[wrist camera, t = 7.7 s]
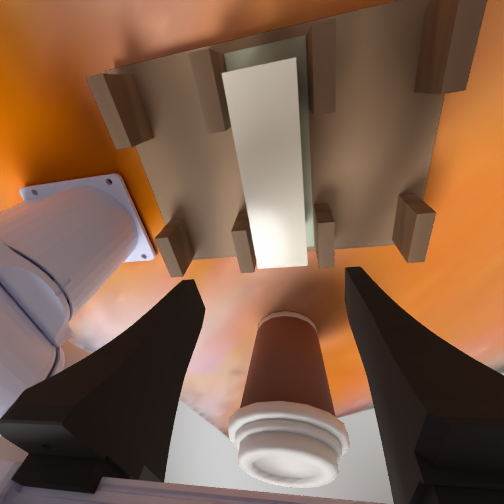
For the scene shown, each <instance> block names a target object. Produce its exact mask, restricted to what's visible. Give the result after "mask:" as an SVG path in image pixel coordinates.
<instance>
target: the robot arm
mask: <svg viewBox="0 0 504 504" xmlns="http://www.w3.org/2000/svg"><path fill="white" fill-rule="evenodd" d="M108 179H110V180H111V181H112V183H110V182H109V180H108ZM36 191H37V192H36ZM19 193H20V195H21V196H22V198H23V199H24V202H22V203H20V204H17V205H15V206H13V207H11V208H9V209H6V210H4V211H2V212H0V436H3V437H4V438H6V439H7V440H9V441H10V442H12V443H14V444H15V445H17V446H18V447H20V448H21V449H23V450H24V451H26V452H27V453H29V454H28V456H27V457H26V459H25V460H24V462H23V463H22V462H19V461H15V460H7V459H0V504H384V503H373V502H363V501H352V500H341V499H331V498H321V497H310V496H300V495H289V494H279V493H268V492H258V491H247V490H237V489H225V488H215V487H204V486H194V485H184V484H173V483H164V479H165V472H166V465H167V459H168V453H169V446H170V441H171V435H172V430H173V425H174V420H175V415H176V411H177V406H178V402H179V397H180V393H181V389H182V385H183V381H184V377H185V374H186V371H187V368H188V365H189V362H190V359H191V357H192V354H193V351H194V348H195V345H196V343H197V340H198V337H199V334H200V331H201V328H202V324H203V319H204V314H205V306H204V304H203V301H202V299H201V296H200V294H199V291H198V289H197V286H196V284H195V281H194V279H192V280H182V281H181V282H180V283H179V284H178V285H176V286H175V287H174V288H173V289H172V290H171V291H170V292H169V293H168V294H167V295H166V296H165V297H164V298H162V299H161V300H160V301H159V302H158V303H157V304H156V305H155V306H154V307H153V308H152V309H151V310H149V311H148V312H147V313H146V314H145V315H144V316H142V317H141V318H140V319H139V320H138V321H137V322H135V323H134V324H133V325H132V326H130V327H129V328H128V329H127V330H125V331H124V332H123V333H121V334H120V335H119V336H117V337H116V338H115V339H113V340H112V341H110V342H109V343H107V344H106V345H104V346H103V347H101V348H100V349H98V350H97V351H95V352H94V353H92V354H91V355H89V356H87V357H86V358H84V359H82V360H81V361H79V362H77V363H75V364H74V365H72V366H70V367H68V368H67V369H65V370H63V367H64V364H65V356H64V353H63V350H62V349H61V347H60V346H61V345H62V344H63V343H64V342H65V341H66V339H67V338H68V337H69V336H70V335H71V334H72V331H71V329H70V327H69V324H68V322H69V321H70V320H71V319H72V318H73V317H74V316H75V315H76V313H77V312H78V311H79V310H80V309H81V308H82V307H83V306H84V305H85V304H86V303H87V301H88V300H89V299H90V298H91V297H92V296H93V295H94V294H95V293H96V292H97V291H98V289H99V288H100V287H101V286H102V285H103V284H104V283H105V282H106V281H107V280H108V279H109V277H110V276H111V275H112V274H113V273H114V272H115V271H116V270H117V269H118V268H119V266H120V265H121V264H122V263H123V262H134V261H147V260H153V259H154V258H155V257H156V253H155V251H154V249H153V246H152V244H151V242H150V240H149V237H148V235H147V233H146V231H145V228H144V226H143V224H142V222H141V219H140V217H139V215H138V212H137V210H136V208H135V206H134V203H133V201H132V199H131V197H130V194H129V192H128V190H127V188H126V185H125V183H124V181H123V179H122V177H121V176H120V175H119V174H116V173H113V174H106V175H100V176H93V177H87V178H80V179H73V180H67V181H60V182H54V183H47V184H40V185H34V186H27V187H23V188H21V189H20V190H19ZM144 254H145V255H146V256H145V255H144ZM345 304H346V309H347V314H348V319H349V323H350V326H351V329H352V332H353V335H354V338H355V341H356V344H357V347H358V350H359V353H360V356H361V359H362V362H363V365H364V368H365V371H366V375H367V378H368V382H369V387H370V391H371V395H372V400H373V404H374V409H375V413H376V418H377V422H378V427H379V431H380V436H381V441H382V446H383V451H384V456H385V460H386V465H387V470H388V476H389V481H390V486H391V491H392V496H393V501H394V504H504V375H502V374H500V373H498V372H496V371H495V370H493V369H491V368H489V367H487V366H486V365H484V364H482V363H480V362H479V361H477V360H475V359H473V358H472V357H470V356H468V355H467V354H465V353H463V352H462V351H460V350H459V349H457V348H456V347H454V346H452V345H451V344H449V343H448V342H446V341H445V340H443V339H441V338H440V337H438V336H437V335H436V334H434V333H433V332H431V331H430V330H429V329H427V328H426V327H425V326H423V325H422V324H421V323H419V322H418V321H417V320H415V319H414V318H413V317H412V316H411V315H409V314H408V313H407V312H406V311H405V310H403V309H402V308H401V307H400V306H399V305H398V304H397V303H396V302H394V301H393V300H392V299H391V298H390V297H389V296H388V295H387V294H386V293H385V292H384V291H383V290H382V289H381V288H380V287H379V286H378V285H377V284H376V283H375V282H374V281H373V280H372V279H371V278H370V277H369V275H368V274H367V273H366V272H365V271H364V270H363V269H362V268H361V267H347V268H345Z"/></svg>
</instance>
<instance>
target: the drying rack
mask: <svg viewBox="0 0 504 504" xmlns="http://www.w3.org/2000/svg"><path fill="white" fill-rule="evenodd" d="M486 3H487V0H397V1H393V2H389V3H385V4H381V5H376V6H372V7H368V8H364V9H360V10H356V11H351V12H347V13H343V14H339V15H335V16H331V17H326V18H322V19H318V20H314V21H310V22H306V23H301V24H297V25H293V26H289V27H285V28H281V29H276V30H272V31H268V32H264V33H260V34H256V35H251V36H247V37H243V38H239V39H235V40H231V41H226V42H222V43H218V44H214V45H210V46H206V47H201V48H197V49H193V50H189V51H185V52H181V53H176V54H172V55H168V56H164V57H160V58H156V59H151V60H147V61H143V62H139V63H135V64H131V65H126V66H122V67H118V68H114V69H110V70H106V73H107V74H99V75H94V76H90V77H86V80H87V83H88V85H89V87H90V90H91V92H92V94H93V97H94V99H95V101H96V104H97V106H98V108H99V111H100V113H101V115H102V118H103V120H104V122H105V124H106V127H107V129H108V131H109V134H110V136H111V138H112V141H113V143H114V145H115V148H116V150H118V149H124V148H130V147H133V146H135V148H136V150H137V153H138V155H139V158H140V160H141V163H142V165H143V168H144V171H145V173H146V176H147V178H148V181H149V183H150V186H151V189H152V191H153V194H154V196H155V199H156V201H157V204H158V207H159V209H160V212H161V214H162V217H163V219H164V222H165V225H166V226H165V227H164V228H163V229H162V231H161V232H160V233H159V234H158V235H157V236H156V238H155V241H156V243H157V246H158V248H159V250H160V253H161V255H162V257H163V260H164V262H165V264H166V267H167V269H168V271H169V274H170V276H171V277H183V276H184V274H185V272H186V270H187V268H188V267H189V265H190V263H191V261H192V260H197V259H210V258H224V257H237V258H238V263H239V267H240V271H241V273H251V272H254V271H255V266H256V255H255V250H254V245H253V239H252V234H251V229H250V223H249V218H248V213H247V207H246V202H245V196H244V191H243V186H242V180H241V175H240V170H239V164H238V159H237V154H236V148H235V143H234V138H233V132H232V127H231V121H230V116H229V111H228V105H227V100H226V95H225V89H224V84H223V79H222V73H224V72H229V71H234V70H238V69H243V68H248V67H253V66H257V65H262V64H267V63H272V62H276V61H281V60H286V59H291V58H295V57H296V66H297V84H298V102H299V120H300V138H301V155H302V173H303V191H304V209H305V227H306V245H307V251H316V252H317V258H318V264H319V268H333V267H334V249H346V248H360V247H373V246H387V245H396V247H397V248H398V250H399V251H400V253H401V254H402V256H403V257H404V259H405V260H406V262H407V263H415V262H424V261H425V257H426V253H427V249H428V244H429V240H430V236H431V232H432V228H433V224H434V219H435V215H436V212H435V211H434V210H433V209H432V208H431V207H429V206H428V205H427V204H426V203H425V202H424V201H423V197H424V193H425V188H426V183H427V178H428V173H429V168H430V163H431V158H432V153H433V148H434V144H435V139H436V134H437V129H438V124H439V119H440V114H441V109H442V104H443V99H444V94H445V93H451V92H457V91H463V90H466V86H467V82H468V78H469V73H470V69H471V65H472V61H473V57H474V53H475V48H476V44H477V40H478V36H479V32H480V28H481V23H482V19H483V15H484V11H485V7H486Z"/></svg>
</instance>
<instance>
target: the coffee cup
mask: <svg viewBox="0 0 504 504" xmlns="http://www.w3.org/2000/svg"><path fill="white" fill-rule="evenodd" d="M228 429H229V439H230V440H231V441H232V442H233V444H234V445H235V448H236V449H237V450H238V451H239V453H238V465H239V466H240V467H241V468H242V469H243V471H244V472H245V473H246V474H248V475H250V476H252V477H254V478H256V479H258V480H261V481H264V482H267V483H270V484H274V485H280V486H286V487H298V488H310V487H317V486H323V485H325V484H328V483H330V482H332V481H333V480H334V479H335V477H336V476H337V474H338V464H337V463H338V461H339V459H340V458H341V457H343V456H344V455H345V453H346V451H347V450H348V448H349V445H350V444H349V438H348V433H347V431H346V428H345V425H344V423H342V422H341V421H340V420H339V419H337V418H336V417H335V412H334V408H333V403H332V398H331V394H330V389H329V385H328V380H327V376H326V371H325V366H324V362H323V357H322V353H321V348H320V344H319V339H318V333H317V329H316V326H315V324H314V323H313V322H312V321H311V320H310V319H309V318H308V317H306V316H304V315H301V314H299V313H297V312H288V311H282V312H276V313H272V314H270V315H268V316H266V317H264V318H263V319H262V321H261V322H260V323H259V325H258V331H257V335H256V340H255V344H254V349H253V353H252V358H251V362H250V367H249V371H248V376H247V380H246V385H245V389H244V393H243V398H242V402H241V407H240V408H239V409H238V410H237V411H236V412H235V413H234V414H233V415H232V416H231V417H230V420H229V426H228Z"/></svg>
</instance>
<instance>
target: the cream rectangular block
mask: <svg viewBox="0 0 504 504" xmlns="http://www.w3.org/2000/svg"><path fill="white" fill-rule="evenodd" d="M222 79H223V84H224V89H225V95H226V100H227V105H228V111H229V116H230V121H231V127H232V132H233V138H234V143H235V148H236V154H237V159H238V164H239V170H240V175H241V180H242V186H243V191H244V196H245V202H246V207H247V213H248V218H249V223H250V229H251V234H252V239H253V245H254V250H255V255H256V261H257V266H258V269H261V268H278V267H294V266H308V263H307V245H306V227H305V209H304V191H303V173H302V155H301V138H300V120H299V102H298V84H297V66H296V57H295V58H291V59H286V60H281V61H276V62H272V63H267V64H262V65H257V66H253V67H248V68H243V69H238V70H234V71H229V72H224V73H222Z"/></svg>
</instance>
